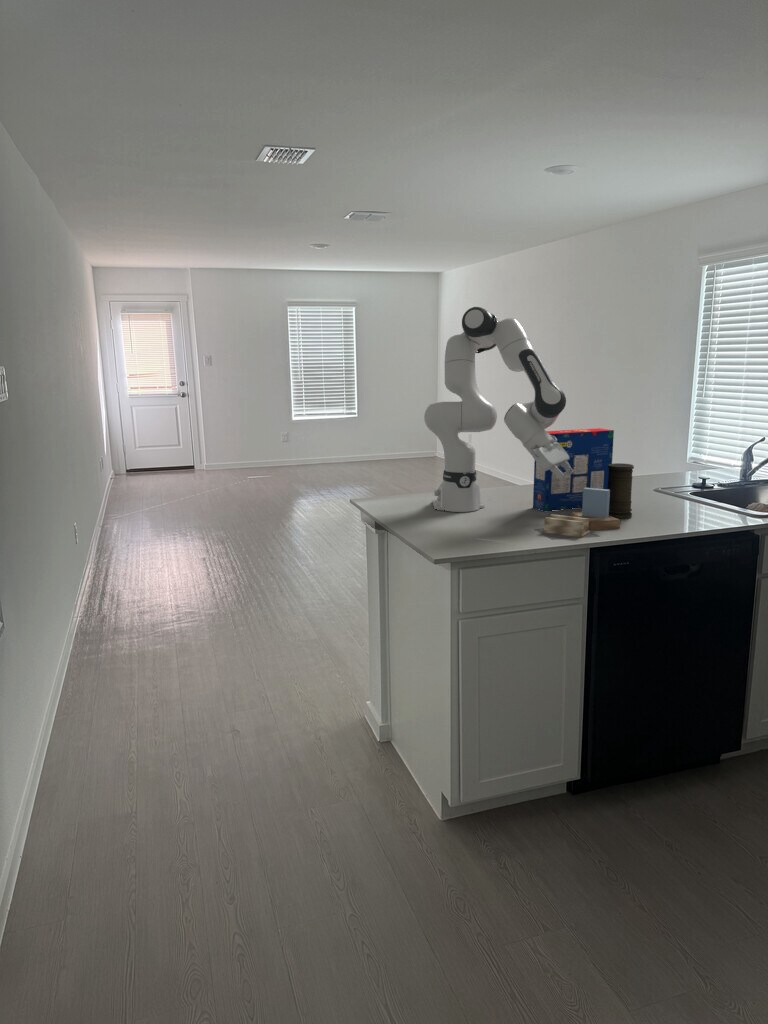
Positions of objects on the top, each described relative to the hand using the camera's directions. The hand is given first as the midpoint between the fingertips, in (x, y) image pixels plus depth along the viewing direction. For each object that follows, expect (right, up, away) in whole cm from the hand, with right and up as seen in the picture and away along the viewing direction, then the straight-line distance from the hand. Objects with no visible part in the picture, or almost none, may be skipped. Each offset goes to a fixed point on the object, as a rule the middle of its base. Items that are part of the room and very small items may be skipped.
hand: (567, 475), depth 235 cm
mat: (-4, -19, -13) cm, 23 cm away
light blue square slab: (+8, -14, -4) cm, 16 cm away
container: (+20, -14, +9) cm, 26 cm away
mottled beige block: (-4, -19, -13) cm, 23 cm away
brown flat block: (+8, -17, -3) cm, 19 cm away
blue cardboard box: (+8, -11, +26) cm, 29 cm away
